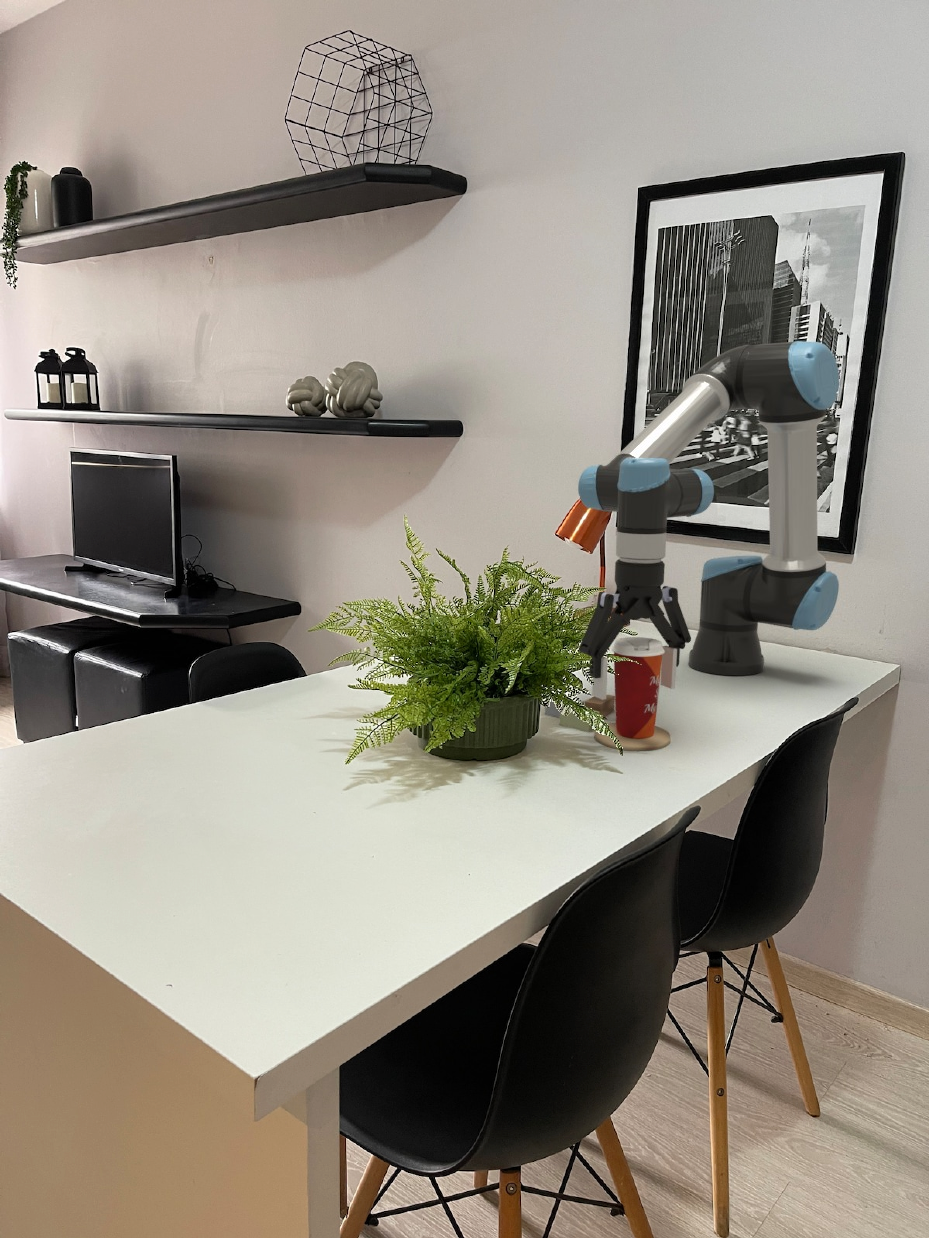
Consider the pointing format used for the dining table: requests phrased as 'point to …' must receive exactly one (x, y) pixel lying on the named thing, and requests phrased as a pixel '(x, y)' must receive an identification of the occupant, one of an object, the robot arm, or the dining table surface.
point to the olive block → (575, 722)
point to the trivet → (635, 740)
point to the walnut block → (602, 704)
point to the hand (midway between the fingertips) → (634, 692)
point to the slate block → (555, 710)
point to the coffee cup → (637, 685)
